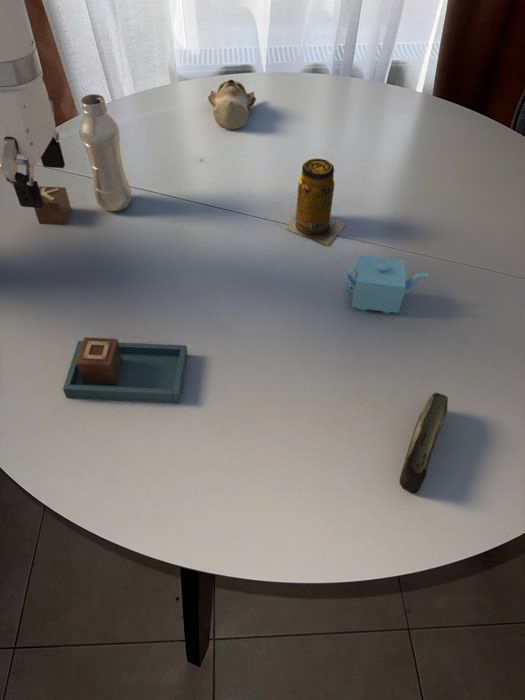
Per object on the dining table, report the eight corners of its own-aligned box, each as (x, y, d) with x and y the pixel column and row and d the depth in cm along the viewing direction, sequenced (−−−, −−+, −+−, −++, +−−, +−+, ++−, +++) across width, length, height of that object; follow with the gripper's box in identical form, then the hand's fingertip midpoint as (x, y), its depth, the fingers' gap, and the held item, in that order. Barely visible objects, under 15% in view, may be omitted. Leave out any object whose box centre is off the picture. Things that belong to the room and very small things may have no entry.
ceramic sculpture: (203, 93, 116) (207, 64, 126) (205, 134, 122) (209, 103, 133) (256, 94, 116) (256, 65, 127) (255, 136, 123) (255, 105, 133)
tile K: (39, 223, 103) (31, 200, 99) (46, 207, 106) (39, 185, 102) (64, 224, 103) (58, 202, 99) (71, 208, 106) (65, 186, 102)
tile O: (83, 384, 80) (75, 362, 76) (91, 358, 83) (83, 336, 79) (116, 385, 80) (110, 364, 76) (123, 359, 83) (117, 337, 79)
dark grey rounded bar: (428, 480, 67) (455, 383, 76) (403, 471, 68) (432, 376, 76) (418, 498, 71) (445, 404, 80) (394, 489, 72) (424, 396, 80)
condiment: (305, 208, 107) (311, 150, 98) (346, 224, 104) (355, 166, 95) (285, 229, 103) (288, 170, 94) (326, 246, 101) (334, 187, 91)
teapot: (418, 292, 94) (429, 256, 88) (419, 319, 90) (430, 284, 84) (343, 283, 95) (350, 248, 89) (341, 310, 91) (348, 274, 85)
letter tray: (66, 397, 79) (62, 388, 78) (81, 349, 85) (78, 340, 83) (179, 403, 79) (178, 394, 77) (187, 354, 85) (186, 345, 83)
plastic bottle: (118, 220, 104) (96, 114, 89) (89, 208, 106) (62, 102, 91) (140, 201, 108) (122, 96, 92) (112, 190, 110) (89, 85, 94)
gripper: (3, 33, 76) (37, 151, 89) (-53, 97, 65) (-4, 221, 78) (59, 37, 76) (86, 154, 89) (13, 102, 65) (51, 225, 78)
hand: (44, 185), depth 83 cm, fingers open, 9 cm apart
